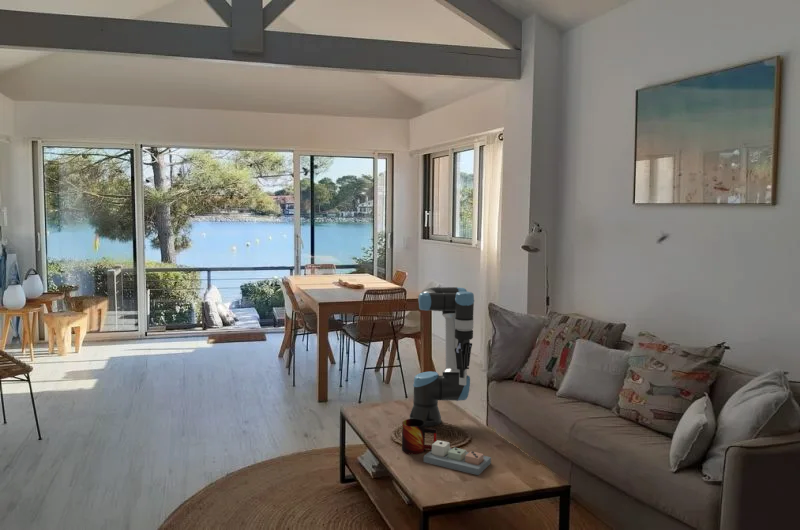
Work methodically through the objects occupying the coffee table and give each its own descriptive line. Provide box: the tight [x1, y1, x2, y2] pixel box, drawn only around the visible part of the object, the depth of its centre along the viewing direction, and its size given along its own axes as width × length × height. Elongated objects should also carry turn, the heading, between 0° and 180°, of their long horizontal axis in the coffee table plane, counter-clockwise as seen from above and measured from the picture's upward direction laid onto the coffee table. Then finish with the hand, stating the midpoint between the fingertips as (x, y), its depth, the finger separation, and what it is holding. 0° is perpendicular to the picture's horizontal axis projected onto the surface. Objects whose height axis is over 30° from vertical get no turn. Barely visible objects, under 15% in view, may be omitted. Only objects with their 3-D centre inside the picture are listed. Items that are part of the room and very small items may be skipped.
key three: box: [465, 450, 485, 465], centre depth 258 cm, size 6×6×4 cm
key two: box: [448, 447, 467, 461], centre depth 262 cm, size 6×6×4 cm
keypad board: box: [423, 447, 492, 476], centre depth 262 cm, size 13×24×2 cm, turn 60°
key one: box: [431, 439, 451, 457], centre depth 265 cm, size 6×6×4 cm
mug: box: [401, 418, 437, 455], centre depth 275 cm, size 10×14×12 cm
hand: (462, 384), depth 269 cm, fingers closed
